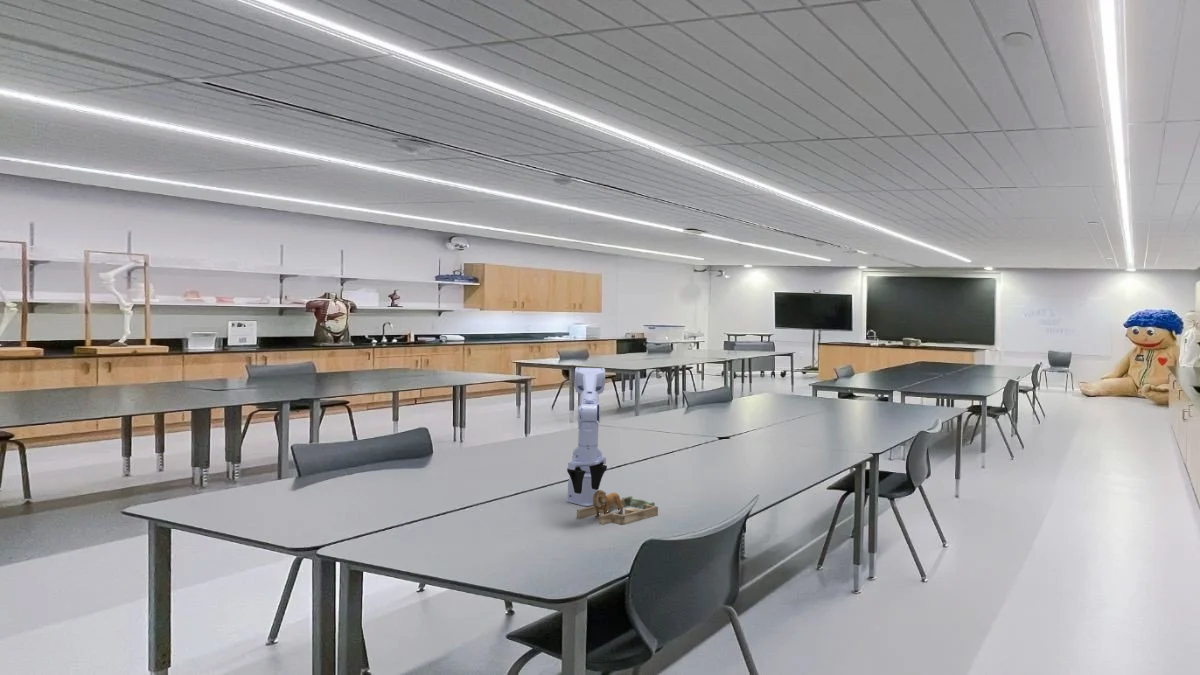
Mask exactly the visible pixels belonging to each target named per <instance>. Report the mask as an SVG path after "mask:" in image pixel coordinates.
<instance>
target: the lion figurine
mask: <svg viewBox="0 0 1200 675" xmlns="http://www.w3.org/2000/svg"><path fill="white" fill-rule="evenodd" d="M620 499H621V497H620V495H619V493H617V492H611V493H608V494H607V493H606V492H605V490H602V489H598V490H597V491H596V492H595V494H594V495H593V505H592V506H594V507H595V508H596V513H597V514H596V515H594V518H595V517H596V518H595V519H598V517H600V515H601V513H600V514H599V510H602V509H603V510H604V513H603V515H604V514H608V513H612V512H613V510H612V509H613V504H614V503H615V504H616V505H617V506H618V509H617V511H618V514H619V515H624V511H623V510H624V509H623V507H622V506H621V503H620ZM607 507H610V509H609V511H608V512H607Z"/></svg>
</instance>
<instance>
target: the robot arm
mask: <svg viewBox="0 0 1200 675" xmlns="http://www.w3.org/2000/svg"><path fill="white" fill-rule="evenodd" d="M573 384H574V390H575V392H576V393H577V394H579V405H578V406H577V424H578V425H577V426H578V428H577V429H578V439H577V440H578V441H577V442H578V444H577V447H575V448H574V449H573V450H572V456H571V459H572V460H571V461H568V462H567V467H566V468H567V469H566V472H567V474H568V475H569V478H568V482H567V499H565V502H567V503H571V504H575V505H579V506H582V507H591V506H594V505H593V495H594V494H595V492H596V491H598V490H600V489H599V488H600V485H601V482H602V478H603V476H604V474H605V472H606V471H607V470H608V466H607V465H606V464H607V457H605V456H603V452H602V450H601V449H600V448H599V445H598V444H599V423H600V422H601V405H600V396H599V395H601V394H603V393H604V391H605V387H606V368H605V367H581V366H580V367H578V366H576V367H575V369H574V383H573Z"/></svg>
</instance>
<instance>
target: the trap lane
mask: <svg viewBox="0 0 1200 675" xmlns="http://www.w3.org/2000/svg"><path fill="white" fill-rule="evenodd" d="M620 503H621V506H622V507H624V514H619V513H616V512H615V513H614V512H611V513H608V514H604V513H603V512H604V510H603V509H602V510H599V513H600V515H599V522H598V523H599V525H600V524H601V526H603V525H607V524H610V523H614V524H618V525H621V526H624V525H626V524H630V523H634V522H639V521H641V519H642V520H645V519H649V518H652V517H654V516H655V515H656V516H658V514H659V507H658V506H655V503H656V502H653V501H649V500H643V499H640V498H636V497H635V498H634V497H633V496H630V495H629V496H626V497H622V498H620ZM627 506H628V507H627ZM633 506H634V507H633ZM637 507H639V508H637ZM641 508H643V509H641ZM609 509H610V507H607V511H609ZM615 509H616V510H618V506H617V505H616V504H615V503H614V504H613V509H612V511H616V510H615ZM595 514H596V515H597V513H596V508H595V507H594V505H591V506H586V507H584V508H579V509H577V510H576V519H579V520H580V519H584V517H585V518H588V517H593V516H596V515H595ZM601 514H602V515H601ZM651 516H652V517H651ZM656 516H655V517H656ZM648 517H649V518H648Z"/></svg>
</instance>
